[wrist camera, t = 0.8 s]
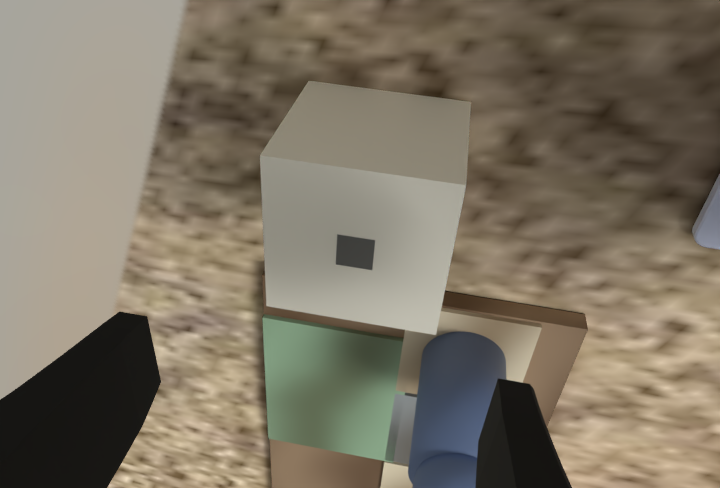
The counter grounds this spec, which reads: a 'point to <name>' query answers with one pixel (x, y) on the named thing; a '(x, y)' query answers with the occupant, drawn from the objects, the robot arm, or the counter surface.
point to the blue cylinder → (452, 408)
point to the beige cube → (364, 204)
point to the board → (386, 384)
